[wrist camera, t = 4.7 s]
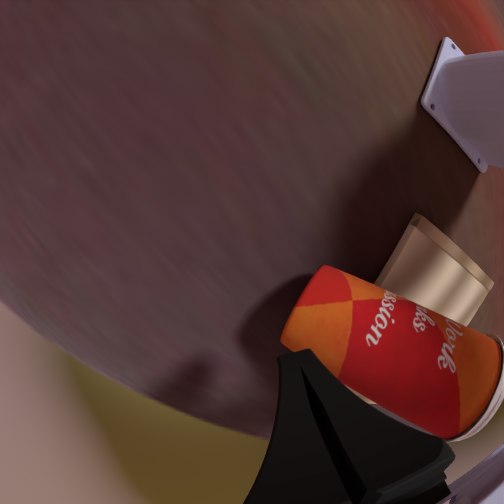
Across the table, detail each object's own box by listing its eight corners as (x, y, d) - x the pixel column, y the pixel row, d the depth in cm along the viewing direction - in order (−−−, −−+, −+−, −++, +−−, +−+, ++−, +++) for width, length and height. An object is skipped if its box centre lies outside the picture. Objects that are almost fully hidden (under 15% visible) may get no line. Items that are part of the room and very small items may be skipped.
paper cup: (339, 247, 20) (491, 328, 14) (296, 336, 21) (438, 409, 16) (316, 248, 13) (534, 366, 7) (252, 377, 14) (450, 472, 9)
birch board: (489, 279, 22) (494, 282, 22) (399, 400, 28) (402, 405, 27) (414, 212, 18) (422, 215, 17) (296, 388, 23) (298, 395, 22)
